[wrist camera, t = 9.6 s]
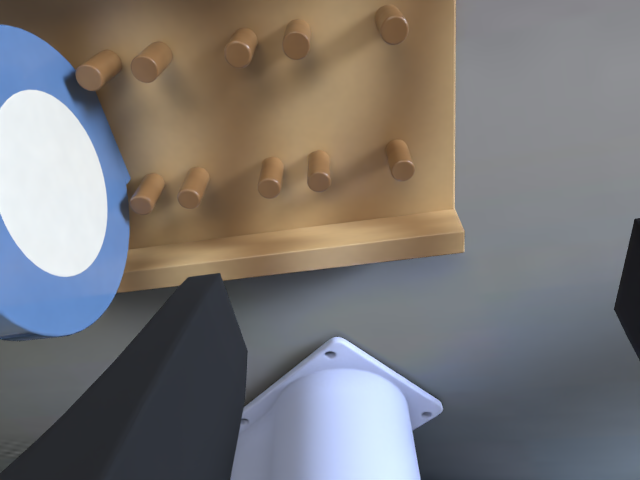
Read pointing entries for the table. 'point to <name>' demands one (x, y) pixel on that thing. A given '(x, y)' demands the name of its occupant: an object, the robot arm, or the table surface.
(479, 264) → the table surface
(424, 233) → the rack
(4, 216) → the plate
